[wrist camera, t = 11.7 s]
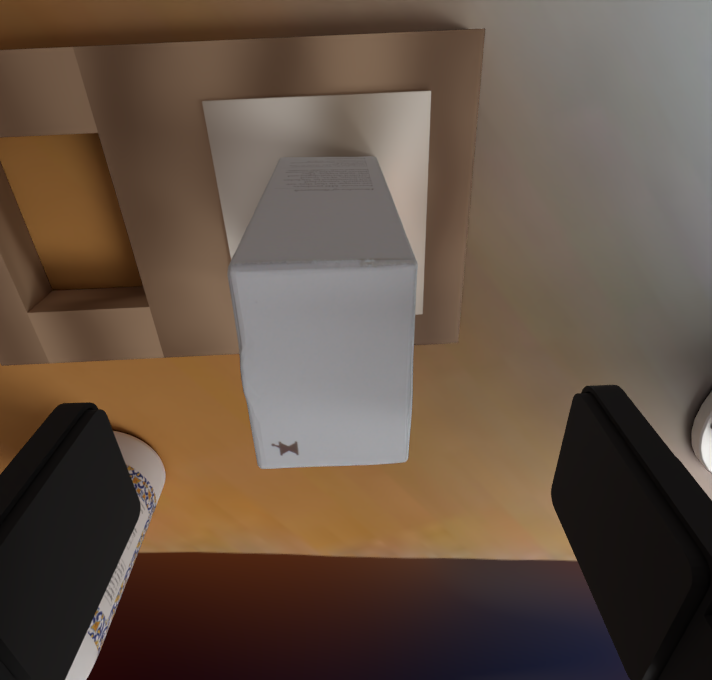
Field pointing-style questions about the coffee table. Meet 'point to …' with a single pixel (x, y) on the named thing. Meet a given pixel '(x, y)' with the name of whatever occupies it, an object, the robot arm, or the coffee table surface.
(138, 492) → the bath foam
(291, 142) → the walnut frame
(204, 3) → the coffee table surface
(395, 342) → the skincare box
